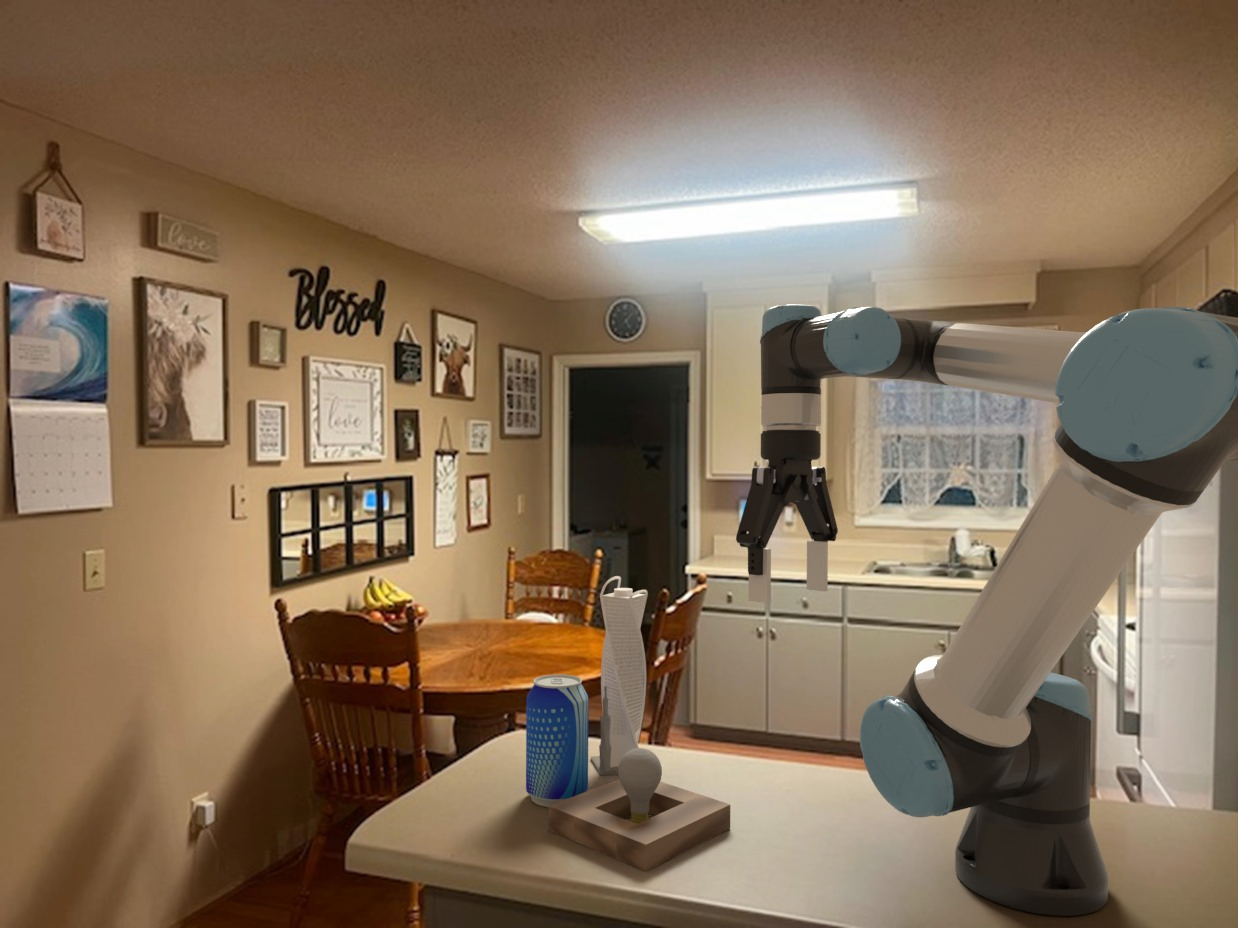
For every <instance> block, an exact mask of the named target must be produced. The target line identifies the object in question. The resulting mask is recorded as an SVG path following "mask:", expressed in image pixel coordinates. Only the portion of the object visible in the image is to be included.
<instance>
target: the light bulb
mask: <svg viewBox="0 0 1238 928" xmlns="http://www.w3.org/2000/svg"><path fill="white" fill-rule="evenodd" d="M662 774H663V769H662V764H661V761H660V759H659V757H658V756H657V755H656V754H655V753H654V752H653V751H652V750H650V749H648V748H644V747H639V748H636V749H632V750H630V751H628V752H627V753H625V754H624V756H623V757H622V758H621V760H620V763H619V766H618V774H617V775H618V779H619V780H620V783H621V785H622V787H623V788H624V790H625V792H626V793H627V795H628V797H629V799H630V803H631V816H630V818H631V819H630V822H633V823H636V824H638V823H640V822H642V821H645V820H647V819H649V813H648V812H649V801H650V799H651V797H652V795H653V793H654V792H655V790H656V788H657V787H658V785H659V783H660V782H662V781H661V780H662Z"/></svg>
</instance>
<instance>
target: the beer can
mask: <svg viewBox="0 0 1238 928" xmlns="http://www.w3.org/2000/svg"><path fill="white" fill-rule="evenodd" d="M582 682H583V680H582V679H581V678H580V677H579V676H576V675H571V674H570V675H569V674H561V673H560V674H548V675H547V674H546V675H541V676H538V677H536V678H533V681H532V683H533V685H532V687H530V690H529V691H528V694H527V696H526V701H525V702H526V705H525V706H526V709H525V710H526V713H525V714H526V715H525V717H526V718H525V719H526V721H525V722H526V723H525V724H526V725H525V726H526V727H525V728H526V729H525V730H526V731H525V732H526V733H525V738H526V739H525V741H526V742H525V745H526V746H525V747H526V748H525V790H526V791H525V792H526V793H527V794H528V795H529V796H530V799H531V801H532V802H533V803H534V804H535V805H537V806H542V807H545V808H549V806H550V805H553V804H555V803H558V802H561V801H563V800H566V799H568V798H571V797H574V796H576V795H579V794H582V793H584V792H587V791H589V694H588V693H587V691H586V690H585V687H584V686H583V685H582Z"/></svg>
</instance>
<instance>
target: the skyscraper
mask: <svg viewBox="0 0 1238 928" xmlns="http://www.w3.org/2000/svg"><path fill="white" fill-rule="evenodd" d="M615 580H617V587H616V588H613V589H614V590H613V592H611V593H607V594H604V592H605V589H606V588H607V585H608V584H610V582H612V581H615ZM621 582H622V577H621V576H619V575H616V576H612V577H610V578H609V579H608V580H607V581H606V582H605V583H604V584H603V586H602V589H601V591H600V594H599V599H600V604H601V605H600V606H601V611H602V617H603V622H604V628H605V634H604V639H603V644H602V645H603V646H602V651H601V652H602V653H601V654H602V655H601V664H600V665H601V667H600V670H601V671H600V693H601V705H602V706H601V707H602V715H600V717H599V718H600V719H599V720H600V743H599V745H598V747H599V749H598V751H599V755H597V756H596V755H595V756H590V760H591V762H592V764H593V765H594V767H595V769H596V770H597V772H598V773H599V775H600V776H608V775H610V776H611V775H618V766H619V763H620V760H621V758H622V757H623V756H624V754H625V753H627V752H628V751H630V750H632V749H636V748H640V747H639V740H640V734H641V729H642V725H643V724H642V723H643V718H644V713H645V704H646V694H647V661H646V660H647V659H646V652H645V647H644V646H645V645H644V640H643V635H642V632H641V627H642V623H643V617H644V614H645V609H646V604H647V599H648V596H649V593H648V590H647V589H641V590H636V591H634V592H633V588H631V587H630V588H629V587H621Z"/></svg>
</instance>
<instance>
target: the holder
mask: <svg viewBox="0 0 1238 928" xmlns="http://www.w3.org/2000/svg"><path fill="white" fill-rule="evenodd" d="M648 815H652V817H650V818H649V817H648V819H647V820H645V821H642V822H640V823H638V824H636V823H633V822H631V820H630V821H629V820H627V819H628V818H631V803H630V799H629V797H628V795H627V793H626V792H625V790H624V788H623V787H622V785H621V783H620V780H619V778H617V779H615V780H613V781H609V782H608V783H605V784H603V785H600V786H598V787H595V788H592V789H590V790H589V789H588V790H587V792H584V793H582V794H579V795H576V796H574V797H571V798H568V799H566V800H563V801H561V802H558V803H555V804H553V805H550V806H549V807H548V831H549V832H552V833H554V834H557V835H558V836H561V837H563V838H566V839H568V840H571V841H573V842H575V843H578V844H580V845H583V846H585V847H587V848H590V849H592V850H594V851H597V852H599V853H601V854H603V855H606V856H609V857H611V858H613V859H614V860H615V859H616V860H618V861H620V862H622V863H625V864H627V865H629V866H632V867H634V868H636V869H639V870H642V871H643V872H648V871H650V870H651V869H654V868H656V867H658V866H660V865H661V864H663V863H665V862H667V861H670V860H672V859H673V858H675V857H677V856H679V855H681V854H683V853H685V852H687V851H689V850H691V849H693V848H694V847H697V846H699V845H700V844H703V843H705V842H707V841H709V840H710V839H712V838H715V837H716V836H718V835H720V834H722V833H725V832H726V831H729V830H730V829H731V804H730V803H727V802H724V801H722V800H718V799H714V798H711V797H709V796H706V795H703V794H699V793H697V792H693V791H690V790H687V789H684V788H682V787H678V786H676V785H673V784H669V783H666V782H663V781H660V783H659V785H658V787H657V788H656V790H655V792H654V793H653V795H652V797H651V799H650V801H649V812H648Z"/></svg>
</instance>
